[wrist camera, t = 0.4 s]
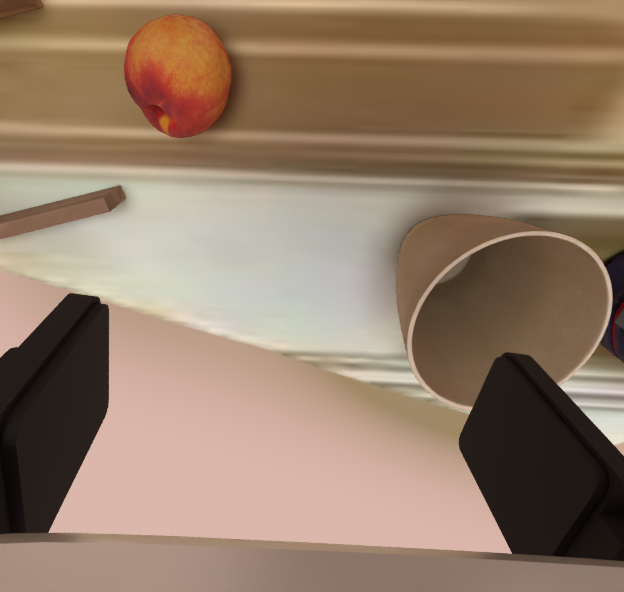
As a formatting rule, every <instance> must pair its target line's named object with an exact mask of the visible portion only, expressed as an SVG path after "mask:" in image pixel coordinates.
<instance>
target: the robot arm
mask: <svg viewBox="0 0 624 592" xmlns="http://www.w3.org/2000/svg"><path fill="white" fill-rule="evenodd" d="M108 403H109V308H108V305H106V304H101V302H100V299H99V297H95V296H88V295H81V294H73V293H70V294H68V295H67V296H66V297H65V298H64V299H63V300H62V301H61V302H60V303H59V304H58V306H57V307H56V308H55V309H54V310H53V311H52V312H51V313H50V314H49V315H48V316H47V317H46V318H45V319H44V320H43V322H42V323H41V324H40V325H39V326H38V327H37V328H36V329H35V330H34V331H33V332H32V333H31V334H30V335H29V337H28V338H27V339H26V340H25V341H24V342H23V343H22V344H21V345H20V346H19V347H15V348H11V349H9V350H8V351H7V352H6V353H5V354H4V355H3V356H2V357H1V358H0V592H624V456H623V455H622V454H621V453H620V452H619V451H618V449H617V448H616V447H615V446H614V445H613V444H612V443H611V442H610V441H609V440H608V438H607V437H606V436H605V435H604V434H603V433H602V432H601V431H600V430H599V429H598V428H597V427H596V426H595V424H594V423H593V422H592V421H591V420H590V419H589V418H588V417H587V416H586V415H585V414H584V413H583V412H582V410H581V409H580V408H579V407H578V406H577V405H576V404H575V403H574V402H573V401H572V400H571V399H570V398H569V396H568V395H567V394H566V393H565V392H564V391H563V390H562V389H561V388H560V387H559V386H558V385H557V384H556V382H555V381H554V380H553V379H552V378H551V377H550V376H549V375H548V374H547V373H546V372H545V371H544V370H543V368H542V367H541V366H540V365H539V364H538V363H537V362H536V361H535V360H534V359H533V358H532V357H531V356H530V355H526V354H518V353H511V352H506V353H503V354H502V355H501V357H497V358H496V359H495V360H494V362H493V364H492V366H491V368H490V370H489V373H488V375H487V377H486V379H485V381H484V384H483V386H482V388H481V390H480V392H479V395H478V397H477V399H476V401H475V403H474V406H473V408H472V410H471V412H470V414H469V417H468V419H467V421H466V423H465V425H464V428H463V430H462V432H461V434H460V437H459V447H460V451H461V452H462V454H463V457H464V459H465V461H466V462H467V465H468V467H469V468H470V471H471V473H472V474H473V477H474V478H475V480H476V483H477V485H478V487H479V489H480V490H481V492H482V494H483V496H484V498H485V500H486V502H487V504H488V506H489V508H490V510H491V512H492V514H493V516H494V518H495V520H496V522H497V524H498V526H499V528H500V530H501V532H502V534H503V536H504V538H505V540H506V542H507V544H508V546H509V548H510V550H511V552H512V554H506V553H490V552H472V551H454V550H435V549H417V548H401V547H382V546H363V545H343V544H325V543H306V542H285V541H284V542H283V541H263V540H243V539H241V540H240V539H221V538H201V537H180V536H179V537H178V536H155V535H154V536H153V535H123V534H90V533H48V532H49V530H50V528H51V526H52V524H53V521H54V519H55V517H56V515H57V513H58V511H59V509H60V507H61V505H62V503H63V501H64V499H65V497H66V495H67V493H68V491H69V489H70V487H71V485H72V483H73V481H74V479H75V477H76V475H77V473H78V471H79V469H80V467H81V465H82V463H83V461H84V459H85V456H86V454H87V452H88V450H89V448H90V446H91V444H92V442H93V440H94V438H95V436H96V434H97V432H98V430H99V428H100V426H101V424H102V422H103V420H104V418H105V415H106V412H107V408H108Z"/></svg>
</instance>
